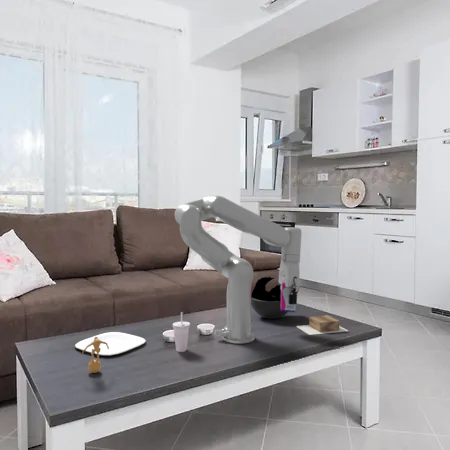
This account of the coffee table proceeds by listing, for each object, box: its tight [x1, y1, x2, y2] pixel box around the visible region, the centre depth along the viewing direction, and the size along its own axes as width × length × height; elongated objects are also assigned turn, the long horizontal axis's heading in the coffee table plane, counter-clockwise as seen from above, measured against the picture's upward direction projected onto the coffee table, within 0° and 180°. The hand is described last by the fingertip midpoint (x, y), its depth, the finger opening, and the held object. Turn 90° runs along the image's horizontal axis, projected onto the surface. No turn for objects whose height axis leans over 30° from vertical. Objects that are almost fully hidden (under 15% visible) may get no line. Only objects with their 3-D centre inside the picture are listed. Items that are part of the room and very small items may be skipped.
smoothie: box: [172, 311, 191, 353], centre depth 159 cm, size 6×6×14 cm
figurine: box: [82, 337, 109, 374], centre depth 137 cm, size 8×6×12 cm
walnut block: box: [308, 314, 341, 332], centre depth 184 cm, size 9×9×4 cm
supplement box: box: [281, 282, 297, 313], centre depth 177 cm, size 6×6×12 cm
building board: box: [295, 324, 349, 336], centre depth 184 cm, size 18×12×1 cm, turn 108°
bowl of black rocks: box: [251, 276, 289, 320], centre depth 201 cm, size 20×20×19 cm
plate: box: [74, 331, 147, 357], centre depth 163 cm, size 22×22×2 cm
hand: (288, 301), depth 178 cm, fingers closed on supplement box, 7 cm apart
